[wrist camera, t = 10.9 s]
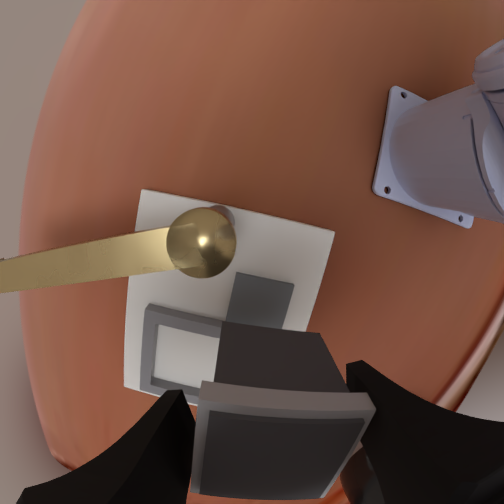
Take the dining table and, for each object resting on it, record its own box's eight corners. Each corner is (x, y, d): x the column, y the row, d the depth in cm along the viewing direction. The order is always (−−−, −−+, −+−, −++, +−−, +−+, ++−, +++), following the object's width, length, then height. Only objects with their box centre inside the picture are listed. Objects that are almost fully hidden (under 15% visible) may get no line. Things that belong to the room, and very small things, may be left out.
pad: (293, 283, 18) (294, 285, 18) (278, 334, 19) (279, 337, 19) (236, 271, 18) (236, 273, 18) (224, 323, 19) (224, 326, 18)
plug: (328, 327, 12) (378, 413, 6) (301, 410, 13) (324, 501, 7) (215, 312, 11) (196, 404, 6) (204, 400, 12) (189, 496, 7)
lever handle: (241, 261, 13) (241, 273, 11) (7, 293, 13) (-11, 303, 11) (232, 200, 12) (230, 203, 10) (-4, 251, 12) (-23, 258, 11)
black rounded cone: (313, 464, 24) (339, 588, 9) (366, 392, 22) (438, 537, 7) (388, 465, 25) (430, 562, 10) (441, 400, 23) (514, 499, 8)
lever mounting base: (330, 229, 19) (373, 253, 12) (272, 410, 22) (279, 473, 15) (146, 189, 18) (97, 192, 11) (127, 379, 21) (97, 435, 14)
